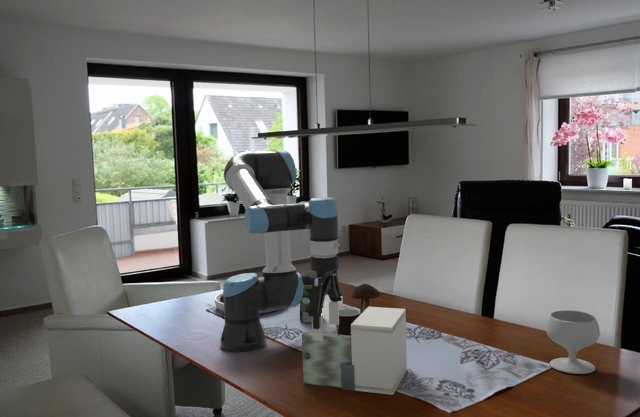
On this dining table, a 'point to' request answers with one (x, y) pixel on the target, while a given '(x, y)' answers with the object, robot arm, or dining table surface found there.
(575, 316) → the chalice
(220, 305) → the bowl
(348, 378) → the hinge clip
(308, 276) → the coffee jar
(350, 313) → the coffee mug
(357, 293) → the decorative mushroom
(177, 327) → the dining table surface
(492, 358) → the dining table surface
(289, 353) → the dining table surface
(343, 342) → the cabinet door
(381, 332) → the cabinet
